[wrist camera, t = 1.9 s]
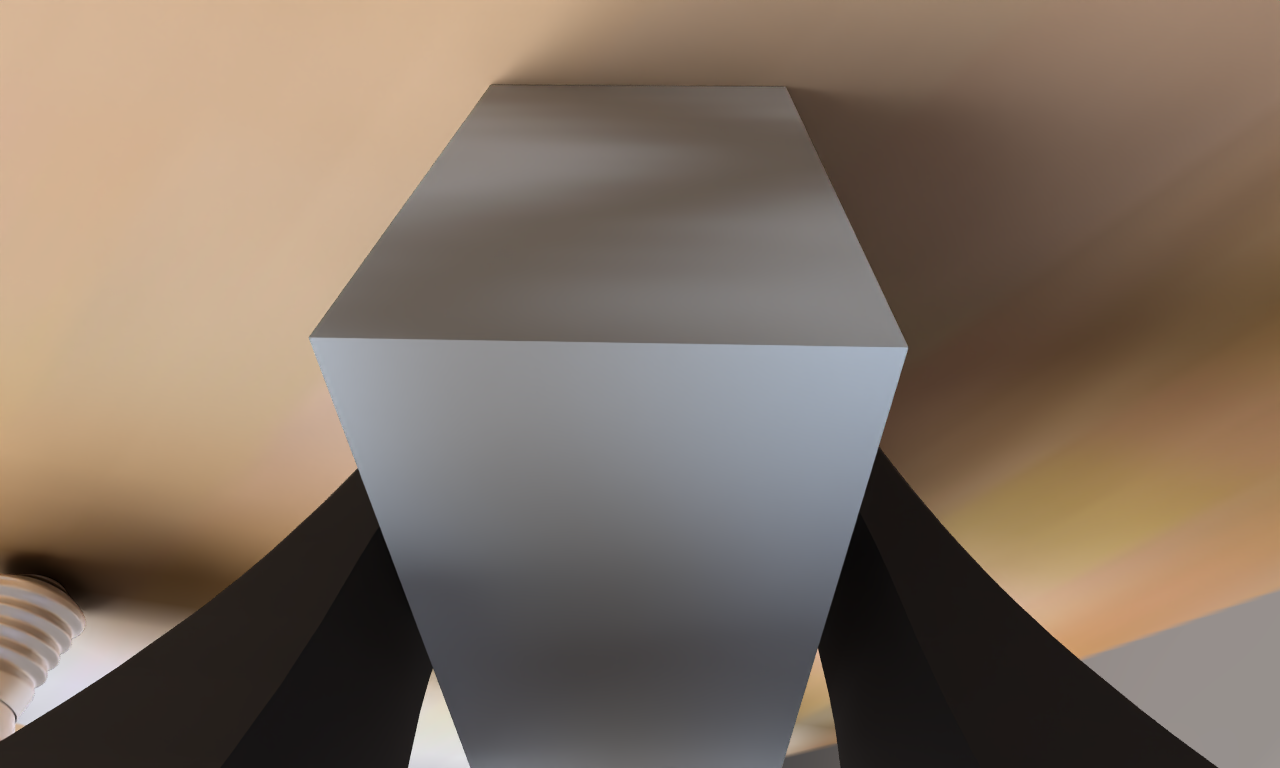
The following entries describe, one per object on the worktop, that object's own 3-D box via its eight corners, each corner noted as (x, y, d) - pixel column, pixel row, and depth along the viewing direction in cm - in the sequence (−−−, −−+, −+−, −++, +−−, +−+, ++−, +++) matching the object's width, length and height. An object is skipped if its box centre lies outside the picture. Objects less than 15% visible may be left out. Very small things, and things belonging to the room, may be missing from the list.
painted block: (785, 87, 9) (909, 347, 4) (727, 550, 15) (753, 861, 11) (490, 85, 9) (308, 337, 5) (552, 546, 16) (502, 851, 11)
